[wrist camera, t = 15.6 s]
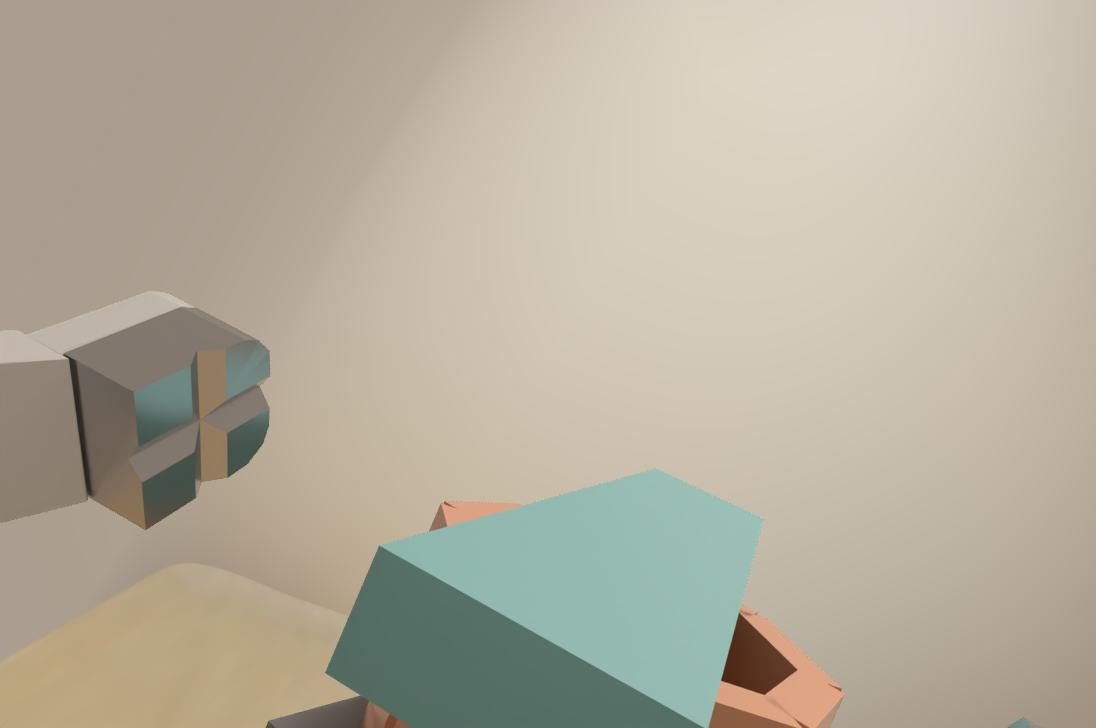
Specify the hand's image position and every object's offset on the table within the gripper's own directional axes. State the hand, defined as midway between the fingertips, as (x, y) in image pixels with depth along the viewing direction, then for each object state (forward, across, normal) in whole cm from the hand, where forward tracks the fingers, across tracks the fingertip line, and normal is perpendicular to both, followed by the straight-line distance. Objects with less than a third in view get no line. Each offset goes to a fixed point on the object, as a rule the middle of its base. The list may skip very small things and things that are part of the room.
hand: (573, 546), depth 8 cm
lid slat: (+8, 0, +8) cm, 11 cm away
